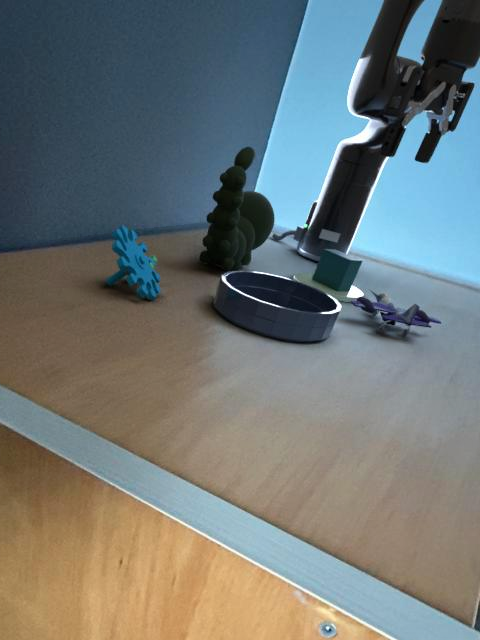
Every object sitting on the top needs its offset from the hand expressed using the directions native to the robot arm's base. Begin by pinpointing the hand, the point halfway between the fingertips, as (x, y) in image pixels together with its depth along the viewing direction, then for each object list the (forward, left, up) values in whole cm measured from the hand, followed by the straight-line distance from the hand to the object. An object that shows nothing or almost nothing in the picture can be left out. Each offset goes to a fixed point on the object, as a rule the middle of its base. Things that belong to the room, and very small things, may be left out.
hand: (403, 159), depth 86 cm
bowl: (+10, -28, -20) cm, 36 cm away
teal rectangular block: (-1, -3, -19) cm, 20 cm away
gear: (-1, -44, -20) cm, 49 cm away
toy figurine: (-14, -16, -20) cm, 29 cm away
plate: (-2, -3, -20) cm, 20 cm away
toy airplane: (+14, -8, -20) cm, 26 cm away
